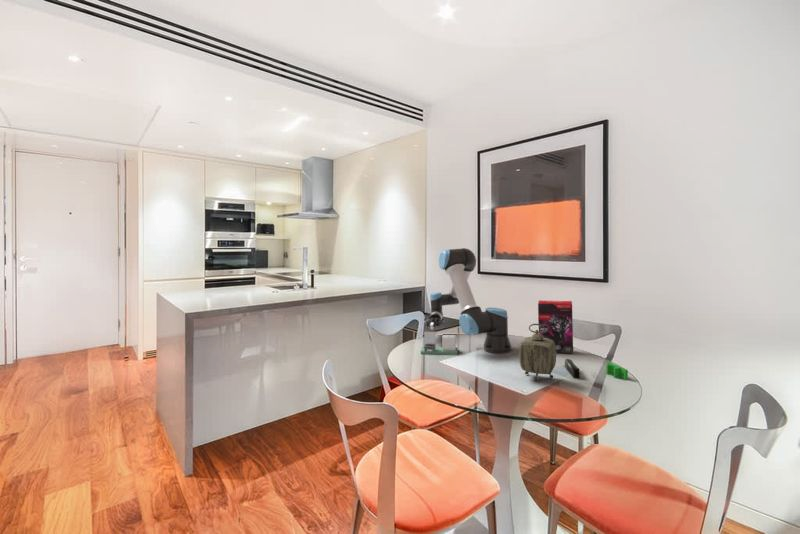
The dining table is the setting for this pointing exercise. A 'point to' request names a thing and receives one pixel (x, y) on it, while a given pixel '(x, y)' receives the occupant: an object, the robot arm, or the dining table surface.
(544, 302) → the graphics card box
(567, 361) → the mobile phone
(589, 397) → the dining table surface
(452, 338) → the heat-sink mount
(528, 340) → the tabletop clock
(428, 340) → the plate
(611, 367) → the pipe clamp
